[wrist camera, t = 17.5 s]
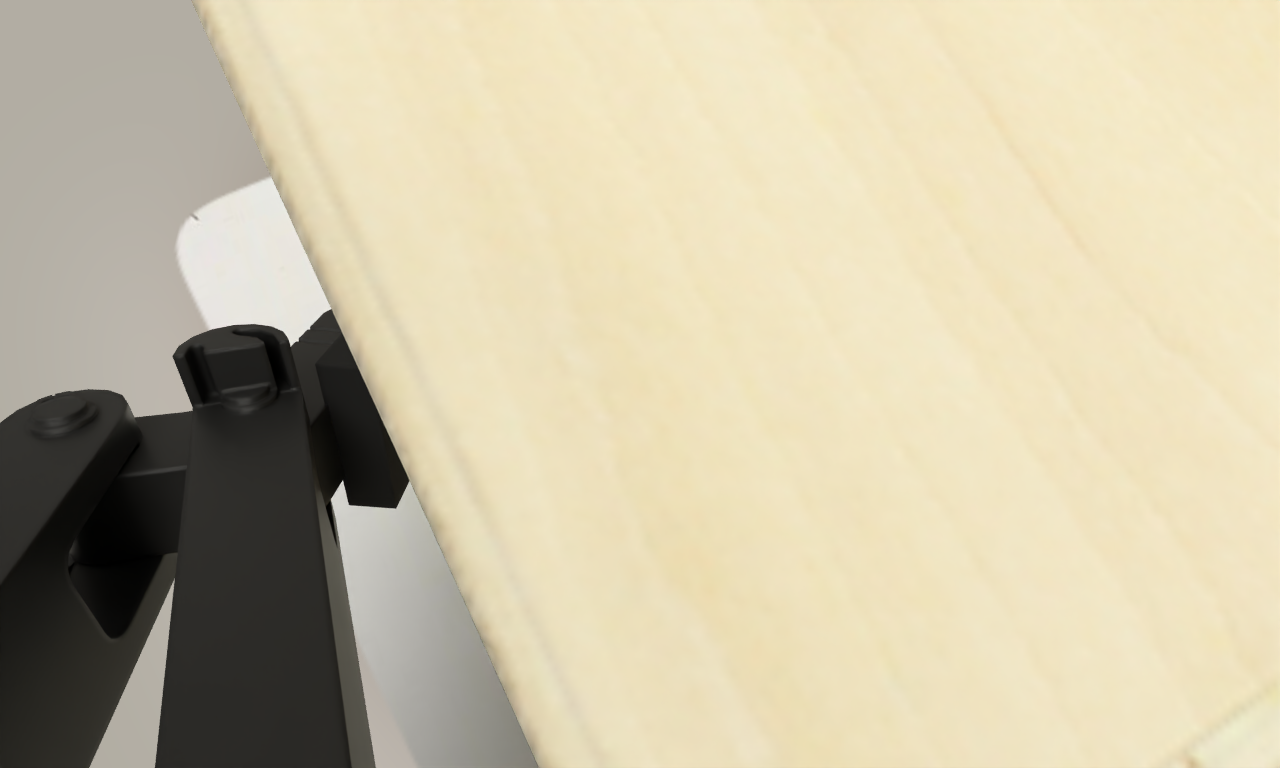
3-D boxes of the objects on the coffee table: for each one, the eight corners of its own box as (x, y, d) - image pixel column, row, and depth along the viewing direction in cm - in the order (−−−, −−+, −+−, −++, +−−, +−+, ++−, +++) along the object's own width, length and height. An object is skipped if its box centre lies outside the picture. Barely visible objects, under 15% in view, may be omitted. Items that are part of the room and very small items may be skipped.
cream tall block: (775, 500, 24) (1971, 443, 3) (608, 591, 22) (759, 1451, 2) (681, 325, 25) (1098, -548, 4) (517, 403, 24) (23, -285, 3)
